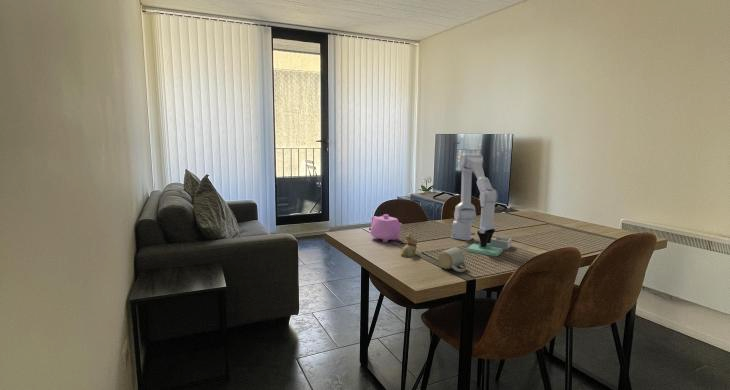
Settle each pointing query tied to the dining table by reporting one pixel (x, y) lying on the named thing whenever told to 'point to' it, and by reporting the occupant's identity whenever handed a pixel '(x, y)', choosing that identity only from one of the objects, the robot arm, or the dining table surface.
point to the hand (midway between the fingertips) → (485, 245)
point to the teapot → (385, 228)
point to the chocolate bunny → (409, 246)
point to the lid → (485, 249)
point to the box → (501, 242)
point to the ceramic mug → (452, 259)
